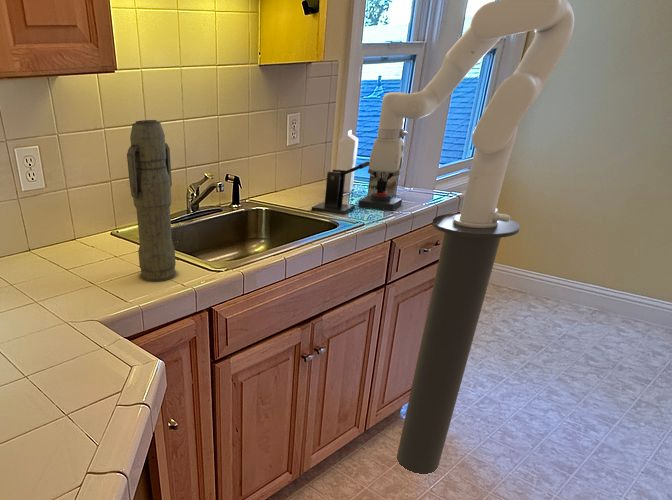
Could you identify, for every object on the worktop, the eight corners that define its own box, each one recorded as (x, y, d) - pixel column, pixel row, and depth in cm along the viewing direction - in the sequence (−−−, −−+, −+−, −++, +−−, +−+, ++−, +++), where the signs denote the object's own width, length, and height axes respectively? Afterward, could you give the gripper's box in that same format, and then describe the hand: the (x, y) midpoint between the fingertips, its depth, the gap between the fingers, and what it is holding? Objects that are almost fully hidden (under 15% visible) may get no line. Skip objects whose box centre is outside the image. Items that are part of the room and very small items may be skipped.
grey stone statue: (186, 270, 127) (179, 118, 110) (158, 286, 119) (145, 124, 101) (159, 265, 132) (147, 118, 114) (129, 279, 123) (112, 123, 106)
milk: (352, 189, 200) (360, 129, 189) (349, 192, 195) (356, 131, 184) (337, 188, 203) (343, 129, 192) (333, 191, 198) (340, 131, 187)
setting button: (387, 197, 174) (388, 191, 173) (384, 199, 172) (384, 194, 171) (377, 196, 176) (378, 191, 175) (373, 198, 174) (374, 192, 173)
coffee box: (380, 199, 185) (386, 152, 176) (366, 196, 189) (372, 150, 181) (396, 195, 189) (404, 149, 180) (383, 192, 193) (389, 147, 185)
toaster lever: (370, 166, 163) (368, 159, 163) (363, 169, 159) (361, 162, 159) (337, 180, 172) (335, 173, 171) (329, 183, 168) (327, 176, 167)
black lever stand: (354, 208, 174) (359, 170, 167) (344, 214, 168) (348, 174, 161) (322, 205, 180) (325, 167, 174) (311, 210, 174) (314, 171, 168)
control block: (401, 205, 175) (403, 193, 173) (392, 210, 169) (394, 198, 167) (367, 201, 182) (369, 190, 180) (358, 207, 176) (359, 195, 174)
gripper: (416, 134, 162) (406, 192, 172) (371, 132, 171) (363, 188, 180) (409, 137, 157) (399, 197, 167) (363, 135, 165) (355, 192, 175)
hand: (380, 192), depth 173 cm, fingers closed
